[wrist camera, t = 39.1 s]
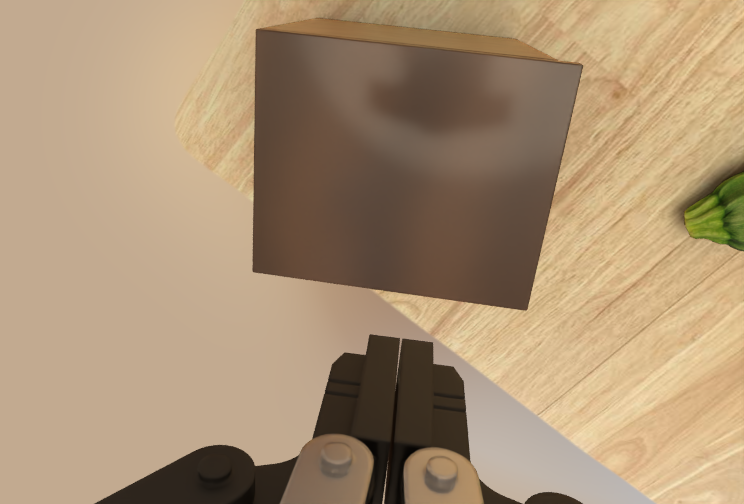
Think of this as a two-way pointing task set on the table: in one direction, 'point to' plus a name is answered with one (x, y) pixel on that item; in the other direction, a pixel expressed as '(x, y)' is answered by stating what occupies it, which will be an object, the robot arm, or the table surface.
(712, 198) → the vegetable
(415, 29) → the chest
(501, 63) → the lid
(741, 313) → the table surface
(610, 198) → the table surface
